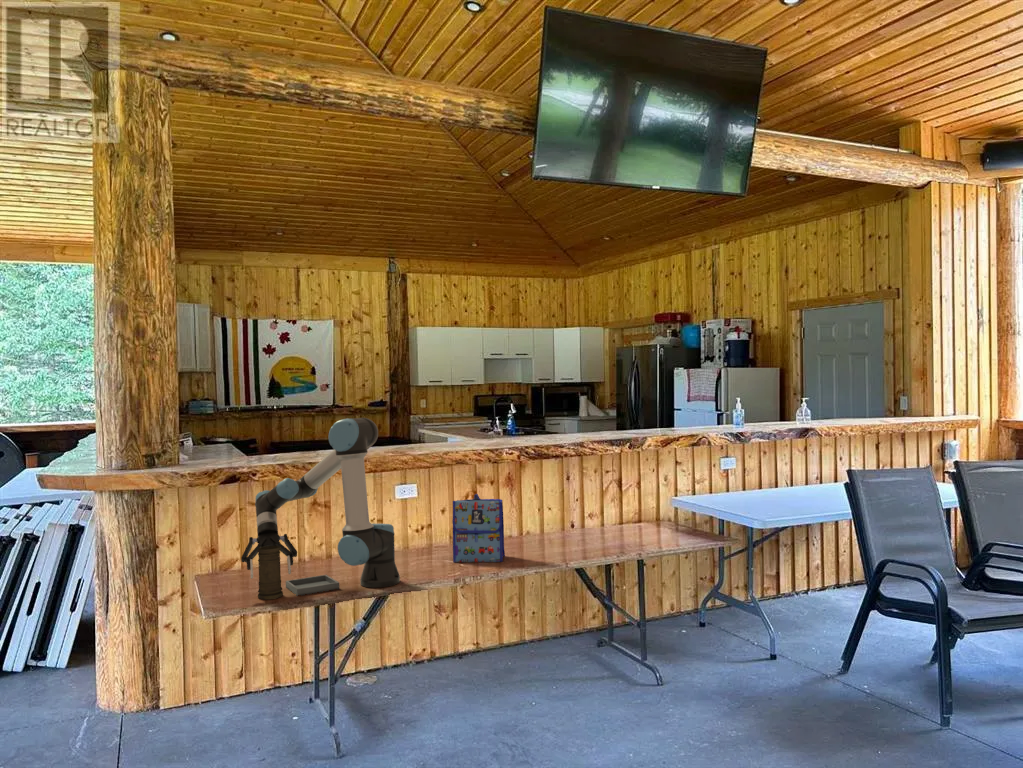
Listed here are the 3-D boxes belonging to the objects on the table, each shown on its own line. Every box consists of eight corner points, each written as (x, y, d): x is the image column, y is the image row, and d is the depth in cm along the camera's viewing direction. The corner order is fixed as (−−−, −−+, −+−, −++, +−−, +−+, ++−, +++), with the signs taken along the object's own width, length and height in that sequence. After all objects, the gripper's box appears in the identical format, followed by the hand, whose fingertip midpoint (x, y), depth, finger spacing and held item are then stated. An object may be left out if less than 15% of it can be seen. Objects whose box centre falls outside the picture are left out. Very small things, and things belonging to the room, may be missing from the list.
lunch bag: (452, 563, 323) (450, 496, 323) (457, 556, 336) (455, 492, 337) (503, 562, 321) (501, 495, 322) (505, 555, 335) (503, 491, 335)
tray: (326, 580, 298) (326, 574, 298) (339, 589, 284) (339, 582, 284) (285, 587, 290) (285, 580, 290) (297, 596, 276) (297, 589, 276)
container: (275, 600, 271) (274, 550, 272) (252, 599, 273) (251, 550, 273) (287, 593, 280) (286, 545, 281) (265, 593, 282) (264, 545, 282)
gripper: (299, 529, 296) (305, 576, 282) (233, 535, 287) (235, 584, 273) (300, 518, 291) (306, 564, 277) (233, 523, 282) (235, 572, 268)
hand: (271, 574), depth 275 cm, fingers open, 12 cm apart
